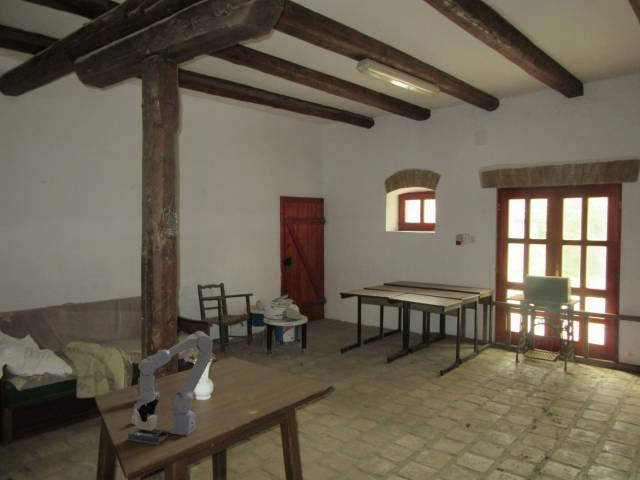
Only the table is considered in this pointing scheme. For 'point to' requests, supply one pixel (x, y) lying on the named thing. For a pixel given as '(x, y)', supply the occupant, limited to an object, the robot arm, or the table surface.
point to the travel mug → (139, 383)
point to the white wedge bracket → (135, 417)
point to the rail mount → (148, 436)
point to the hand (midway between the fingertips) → (147, 419)
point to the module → (147, 422)
